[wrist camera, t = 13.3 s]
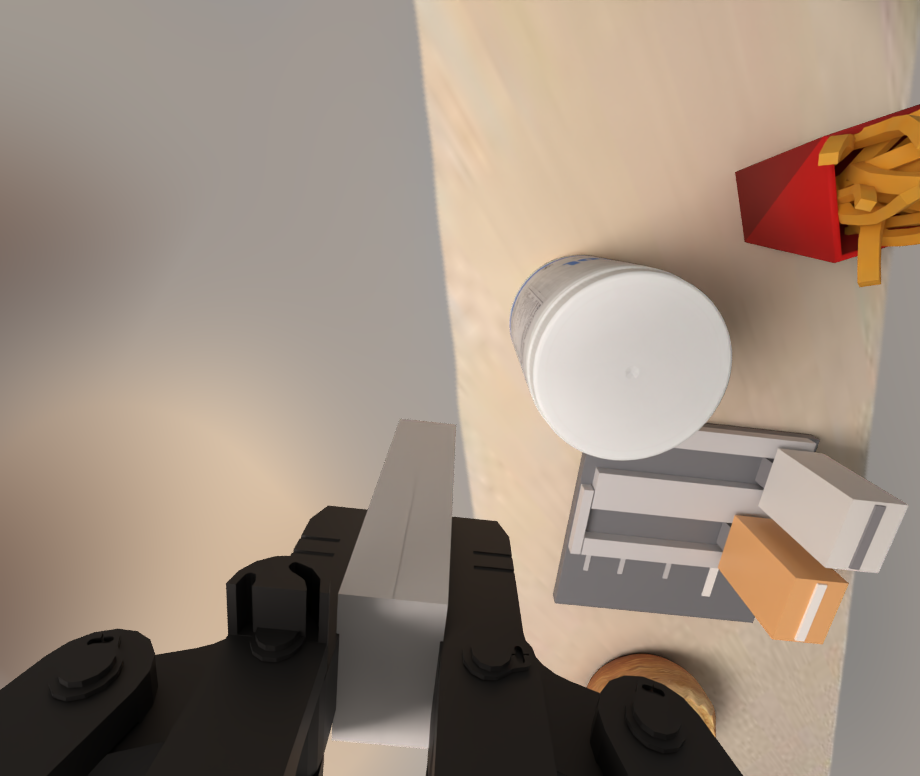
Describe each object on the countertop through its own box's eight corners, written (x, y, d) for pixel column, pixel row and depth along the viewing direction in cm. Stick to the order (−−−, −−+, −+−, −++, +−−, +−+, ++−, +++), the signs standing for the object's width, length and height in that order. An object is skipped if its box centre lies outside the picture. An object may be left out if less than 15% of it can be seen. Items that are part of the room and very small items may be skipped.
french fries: (820, 128, 32) (1104, 42, 18) (831, 250, 35) (1089, 260, 20) (688, 172, 33) (859, 124, 19) (708, 288, 35) (872, 323, 21)
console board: (591, 410, 38) (633, 469, 29) (811, 434, 39) (926, 500, 29) (552, 595, 44) (578, 696, 34) (746, 614, 44) (825, 720, 35)
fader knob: (725, 504, 40) (797, 579, 31) (766, 509, 40) (850, 585, 31) (708, 556, 41) (773, 640, 33) (749, 560, 41) (824, 645, 33)
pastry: (559, 659, 46) (580, 754, 38) (681, 626, 45) (732, 718, 36) (591, 745, 50) (617, 850, 41) (706, 717, 48) (757, 820, 40)
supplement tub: (643, 256, 35) (763, 270, 21) (625, 382, 38) (720, 468, 24) (509, 252, 35) (539, 263, 21) (501, 377, 38) (524, 461, 24)
